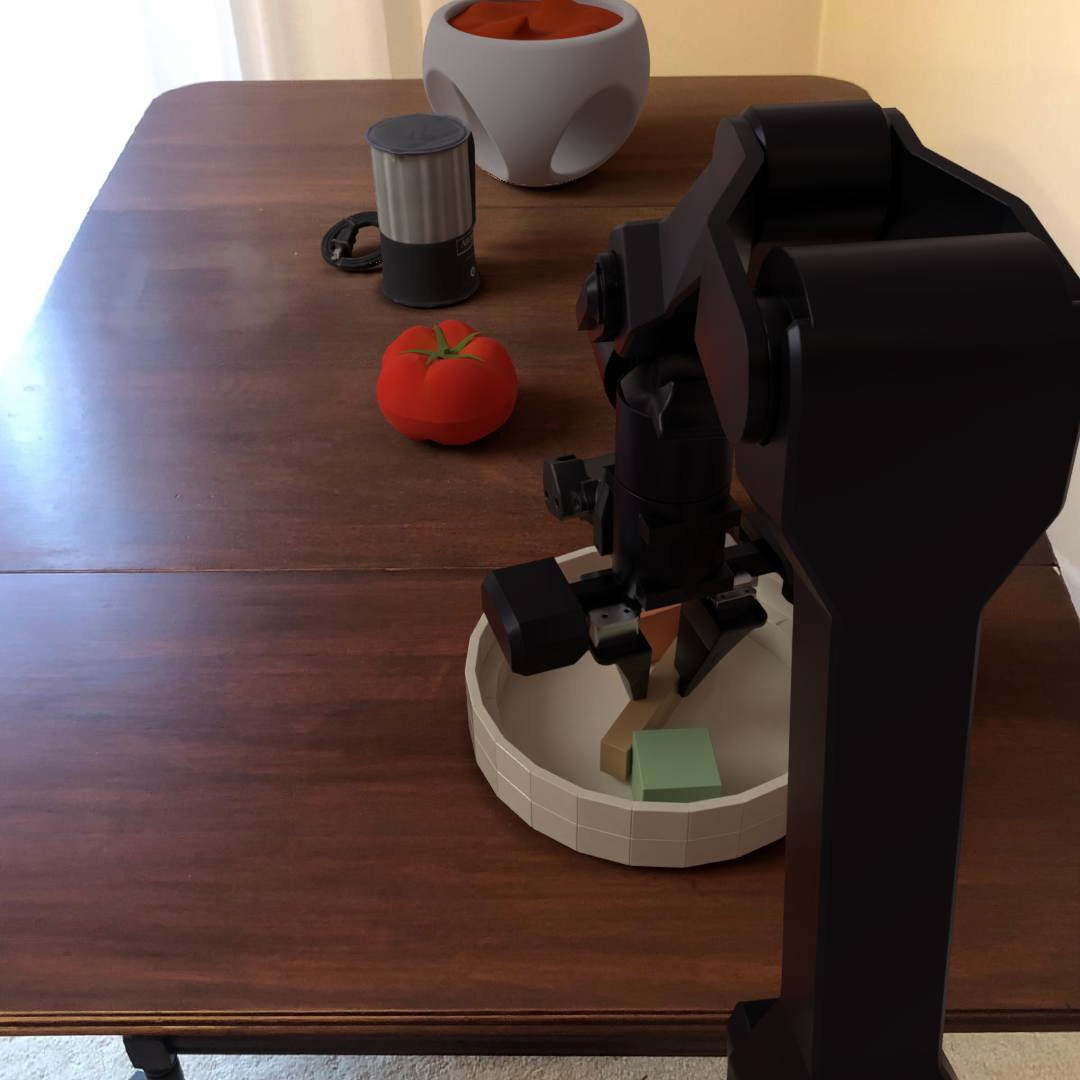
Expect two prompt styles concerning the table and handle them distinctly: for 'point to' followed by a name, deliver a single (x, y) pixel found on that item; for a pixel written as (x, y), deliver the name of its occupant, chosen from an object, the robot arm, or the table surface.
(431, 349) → the tomato
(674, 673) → the long tan beam
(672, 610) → the terracotta block
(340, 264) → the milk frother
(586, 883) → the table surface
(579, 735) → the bowl
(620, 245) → the robot arm
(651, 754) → the sage block
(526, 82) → the pot
